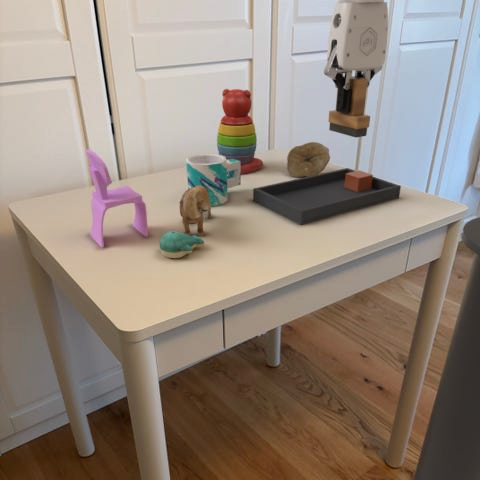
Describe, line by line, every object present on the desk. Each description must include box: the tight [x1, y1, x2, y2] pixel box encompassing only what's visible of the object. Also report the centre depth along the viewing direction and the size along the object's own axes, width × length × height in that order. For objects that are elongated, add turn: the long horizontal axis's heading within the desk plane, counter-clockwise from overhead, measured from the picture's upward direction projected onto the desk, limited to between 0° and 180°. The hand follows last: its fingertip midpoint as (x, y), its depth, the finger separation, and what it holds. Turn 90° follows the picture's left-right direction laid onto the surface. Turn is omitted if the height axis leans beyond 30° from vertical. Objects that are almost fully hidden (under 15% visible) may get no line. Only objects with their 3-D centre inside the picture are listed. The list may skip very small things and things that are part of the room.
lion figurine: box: [179, 185, 213, 237], centre depth 87 cm, size 15×5×9 cm, turn 3°
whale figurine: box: [158, 230, 205, 259], centre depth 80 cm, size 6×7×4 cm
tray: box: [252, 167, 402, 226], centre depth 100 cm, size 26×16×3 cm, turn 123°
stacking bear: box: [216, 88, 264, 175], centre depth 115 cm, size 11×10×18 cm
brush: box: [328, 75, 371, 138], centre depth 91 cm, size 8×3×10 cm, turn 31°
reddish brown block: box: [344, 170, 374, 192], centre depth 104 cm, size 4×4×3 cm
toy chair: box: [85, 148, 149, 249], centre depth 82 cm, size 8×9×15 cm
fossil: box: [286, 141, 331, 178], centre depth 115 cm, size 9×4×10 cm
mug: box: [185, 153, 242, 208], centre depth 101 cm, size 8×12×8 cm
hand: (349, 110), depth 91 cm, fingers closed on brush, 2 cm apart
